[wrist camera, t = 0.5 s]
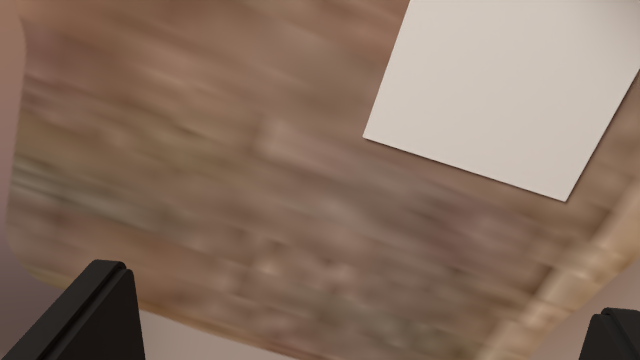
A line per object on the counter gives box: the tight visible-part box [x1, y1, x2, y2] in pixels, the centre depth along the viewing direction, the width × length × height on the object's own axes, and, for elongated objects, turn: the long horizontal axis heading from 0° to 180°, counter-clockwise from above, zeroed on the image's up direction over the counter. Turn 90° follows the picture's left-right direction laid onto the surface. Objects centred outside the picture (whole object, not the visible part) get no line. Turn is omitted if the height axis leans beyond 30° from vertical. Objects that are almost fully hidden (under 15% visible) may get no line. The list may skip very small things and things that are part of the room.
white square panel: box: [363, 0, 640, 202], centre depth 36 cm, size 17×16×1 cm
